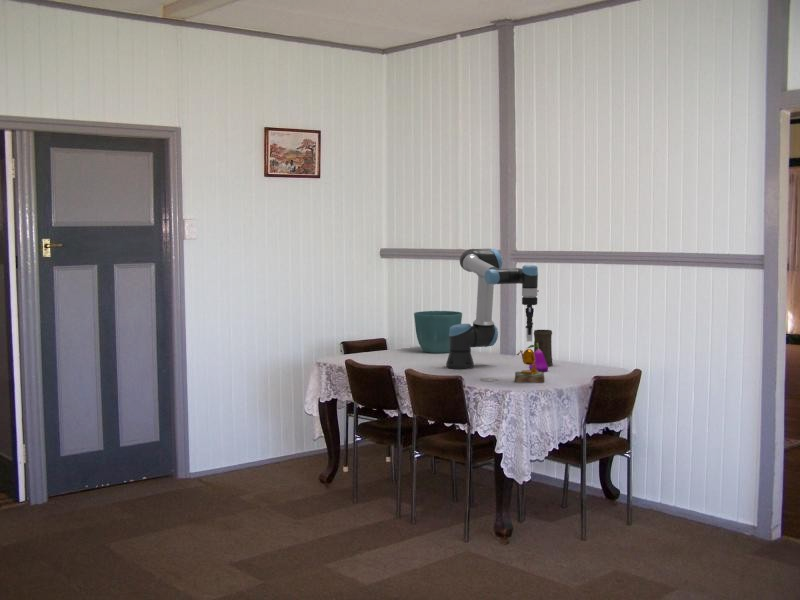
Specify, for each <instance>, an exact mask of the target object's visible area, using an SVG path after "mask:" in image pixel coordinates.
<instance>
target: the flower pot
mask: <svg viewBox="0 0 800 600" xmlns="http://www.w3.org/2000/svg"><path fill="white" fill-rule="evenodd" d="M413 318H414V325H415V334H416V338H417V342H418V345H419V346H420V348H421V349H422V351H423V352H424V353H431V354H442V353H443V354H445V353H449V331H450V327H451V326H454V325H458V324H462V321H463V320H462V319H463V312H461V311H453V310H423V311H416V312H413Z"/></svg>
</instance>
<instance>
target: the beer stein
mask: <svg viewBox="0 0 800 600" xmlns="http://www.w3.org/2000/svg"><path fill="white" fill-rule="evenodd" d="M533 330H534V331H533V338H534V342H533V345H535V346H537V345H536V343H538V346H539V349H540V350H541V351H542V353H543V355H544V358H545V361H546V363H547V366H548V368H549V367H553V366H554V363H553V355H552V352H553V351H552V349H553V347H552V335H553V331H552V330H551V329H533ZM537 349H538V348H537V347H533V352H535V351H536V350H537Z"/></svg>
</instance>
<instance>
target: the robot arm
mask: <svg viewBox="0 0 800 600" xmlns="http://www.w3.org/2000/svg"><path fill="white" fill-rule="evenodd" d="M459 257H460V258H459V265H460V267H461V268H462V269H463V270H464V271H466V272H468V273H469V272H470V273H475V274H476V276H477V277H478V278H477V295H476V296H477V297H476V313H475V314H476V315H475V317H476V318H475V320H473V321H472V325H471V324H470V323H461V324H458V325H454V326H451V327H450V331H449V352H448V356H447V360H446V364H445V365H446V366H445V367H446V368H448V369H453V370H455V369H456V370H468V369H473V368H474V367H475V363H474V362H475V361H474V359H473V355H472V348H483V347H484V348H487V347H492V346H494V345H495V344H496V343H497V341H498V337H499V336H498V335H499V331H498V327H497V326H496V325H495V322H494V321H493V320H492V317H493V304H494V286H495V285H509V284H510V285H512V284H514V285H515V284H516V285H517V284H521V296H522V297H521V304H522V306H526V307H525V317H526V326H525V329H526V342H533V326H534V322H533V317H534V311H535V310H534V309H535V308H533V306H538V297H537V296H538V293H539V292H540V291H539V289H538V283H539V280H538V279H539V270H538V266H537V265H533V264H532V265H531V264H527V265H526V264H525V265H522V268H519V267H514V268H502V267H503V258H502V255H501V252H500V251H499V250H497V249H495V248H471V249H470V248H469V249H467V250H465V251H464V252H462V253H461V255H460V256H459Z"/></svg>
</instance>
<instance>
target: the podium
mask: <svg viewBox="0 0 800 600" xmlns="http://www.w3.org/2000/svg"><path fill="white" fill-rule="evenodd" d="M514 382H515V383H538V384H539V383H545V375H544V371H542V372H538V373H537V374H523V373H521V371H515V372H514Z"/></svg>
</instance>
